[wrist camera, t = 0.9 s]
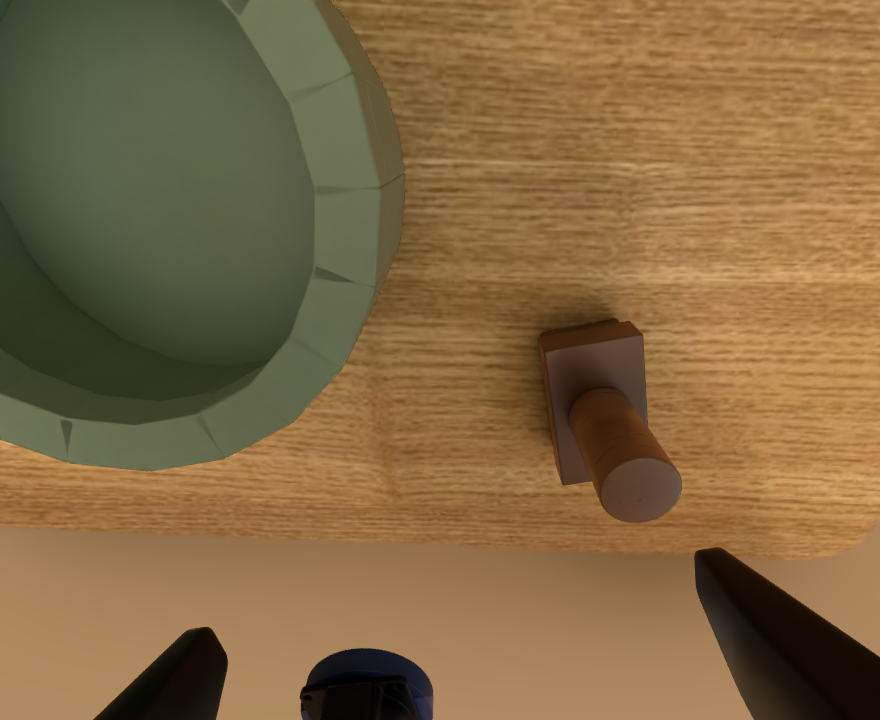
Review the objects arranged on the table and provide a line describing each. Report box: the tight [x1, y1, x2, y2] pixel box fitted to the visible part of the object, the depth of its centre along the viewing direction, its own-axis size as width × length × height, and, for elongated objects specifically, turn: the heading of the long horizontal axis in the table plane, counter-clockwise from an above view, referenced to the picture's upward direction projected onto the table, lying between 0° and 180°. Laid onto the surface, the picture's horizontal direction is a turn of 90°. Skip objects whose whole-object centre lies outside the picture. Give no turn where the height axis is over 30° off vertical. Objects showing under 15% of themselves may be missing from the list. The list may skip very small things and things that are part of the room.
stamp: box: [538, 319, 682, 523], centre depth 18 cm, size 6×4×7 cm, turn 12°
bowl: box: [0, 0, 405, 471], centre depth 15 cm, size 15×15×7 cm
